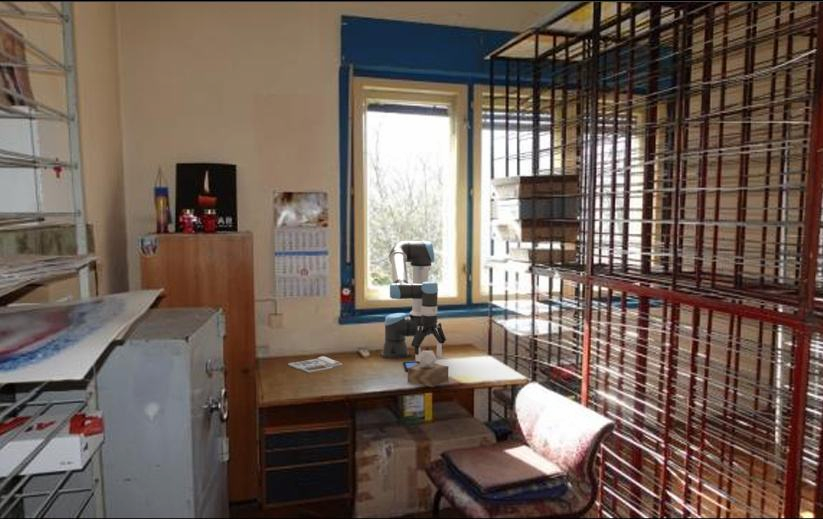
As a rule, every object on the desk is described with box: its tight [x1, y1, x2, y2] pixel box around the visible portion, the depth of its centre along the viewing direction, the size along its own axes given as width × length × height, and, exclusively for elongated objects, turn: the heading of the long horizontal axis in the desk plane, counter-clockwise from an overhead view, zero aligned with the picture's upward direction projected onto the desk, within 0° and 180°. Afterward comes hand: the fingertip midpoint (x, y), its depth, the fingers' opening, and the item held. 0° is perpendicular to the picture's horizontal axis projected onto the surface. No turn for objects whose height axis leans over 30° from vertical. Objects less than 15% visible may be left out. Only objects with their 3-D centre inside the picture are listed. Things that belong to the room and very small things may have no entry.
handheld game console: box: [402, 347, 430, 373], centre depth 277 cm, size 16×13×9 cm
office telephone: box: [287, 356, 343, 374], centre depth 280 cm, size 23×3×20 cm
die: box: [420, 349, 437, 368], centre depth 254 cm, size 8×9×10 cm
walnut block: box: [407, 363, 449, 388], centre depth 255 cm, size 14×14×7 cm
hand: (428, 358), depth 255 cm, fingers open, 13 cm apart
